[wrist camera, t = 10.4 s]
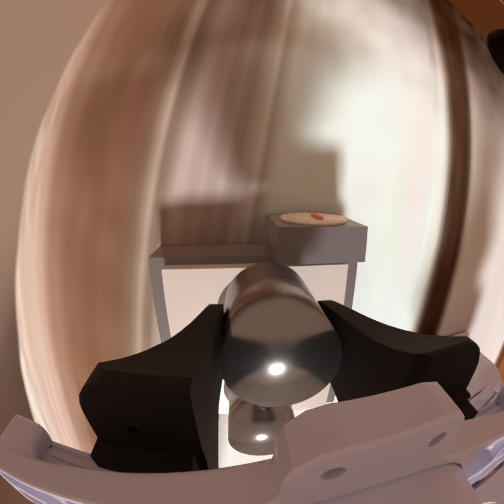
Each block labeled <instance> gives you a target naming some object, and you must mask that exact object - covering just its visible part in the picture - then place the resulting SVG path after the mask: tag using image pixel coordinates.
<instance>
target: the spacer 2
mask: <svg viewBox="0 0 504 504" xmlns="http://www.w3.org/2000/svg"><path fill="white" fill-rule="evenodd" d="M294 418H295V417H294V413H293V409H292V405H289V406H283V407H264V406H259V405H255V404H252V403H249V402H247V401H244V400H243V399H241V398H239V397H238V396H236V395H235V394H234V393H233V392H232V391H231V390H230V389H229V416H228V440H229V443H230V445H231V446H232V447H233V448H234V449H235V450H237V451H239V452H241V453H244V454H248V455H270V454H274V450H275V441H276V438H277V436H278V435H279V433H280V431H281V429H282V428H283V426H284V425H285V424H286V423H288V422H289V421H291V420H292V419H294Z"/></svg>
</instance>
